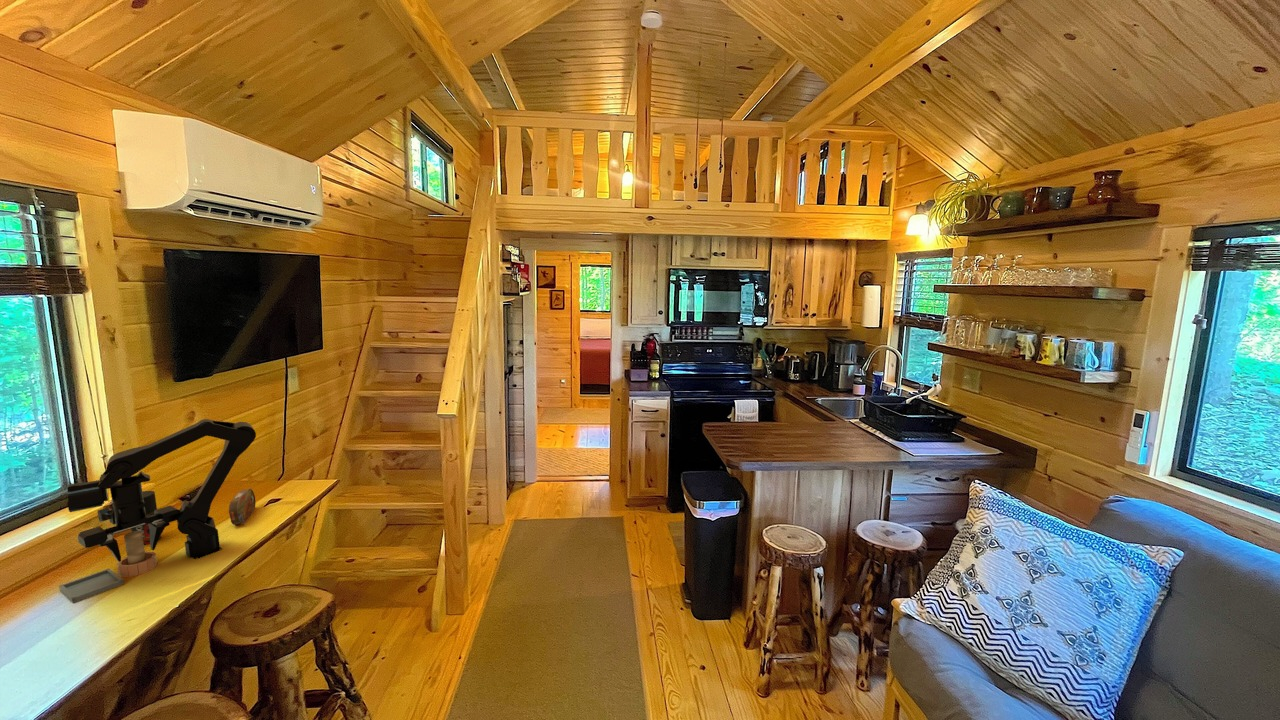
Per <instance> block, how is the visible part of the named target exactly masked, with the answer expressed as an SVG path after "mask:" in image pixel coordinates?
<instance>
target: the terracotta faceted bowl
mask: <svg viewBox="0 0 1280 720" xmlns="http://www.w3.org/2000/svg"><path fill="white" fill-rule="evenodd" d="M145 555H146V561H143V562H140V563H137V564H132V565H128V558H127V556H125V557H124V558H121V561H120V562H119V561H117V564H116V565H117V572H118V576H119V577H120V578H122V577H123V578H124V577H125V578H128V577H134V576H139V575H143V574H144V573H147V572H150V571H152V570H153V569H155V568H156V566H157V565H158V560H157V553H156V552H154V551H145Z"/></svg>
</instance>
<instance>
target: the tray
mask: <svg viewBox="0 0 1280 720" xmlns="http://www.w3.org/2000/svg"><path fill="white" fill-rule="evenodd" d="M123 585H125V582H124V579H123V578H122V577H121V576H120V575H119V574H117V573H115V571H113V570H112V569H111V568H106V569H103V570H101V571H97V572H95V573H92V574H90V575H87V576H84V577H79V578H78V579H75V580H71V581H69V582H65V583H63V584H61V585H58V588H59V591H60V592H61V593H62V594H63V595H64V596H65V597H66V598H67V599H68V600H69V601H70V602H71V603H72V604H74V603H78V602H80V601H83V600H85V599H89V598H92V597H94V596H97V595H99V594H102V593H105V592H108V591H110V590H113V589H115V588H118V587H120V586H123Z"/></svg>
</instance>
